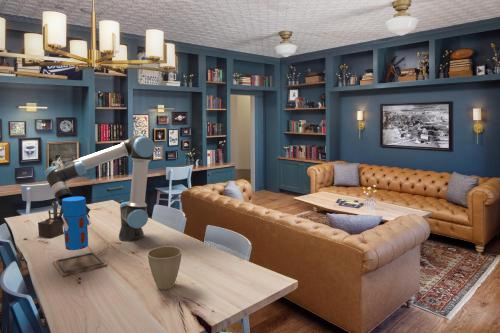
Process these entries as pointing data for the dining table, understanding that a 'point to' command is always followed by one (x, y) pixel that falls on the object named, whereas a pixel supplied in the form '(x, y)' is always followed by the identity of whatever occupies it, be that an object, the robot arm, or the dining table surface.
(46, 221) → the manual coffee grinder
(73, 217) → the thermos
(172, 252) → the plant pot
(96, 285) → the dining table surface
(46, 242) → the dining table surface
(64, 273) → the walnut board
